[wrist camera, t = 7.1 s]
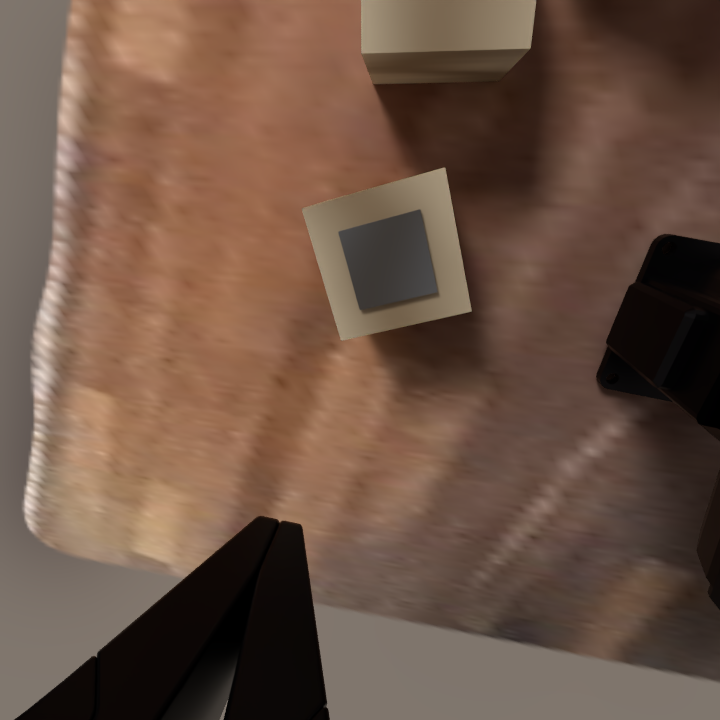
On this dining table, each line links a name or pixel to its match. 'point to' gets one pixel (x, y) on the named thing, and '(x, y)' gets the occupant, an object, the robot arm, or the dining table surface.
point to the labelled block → (390, 255)
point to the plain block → (444, 39)
